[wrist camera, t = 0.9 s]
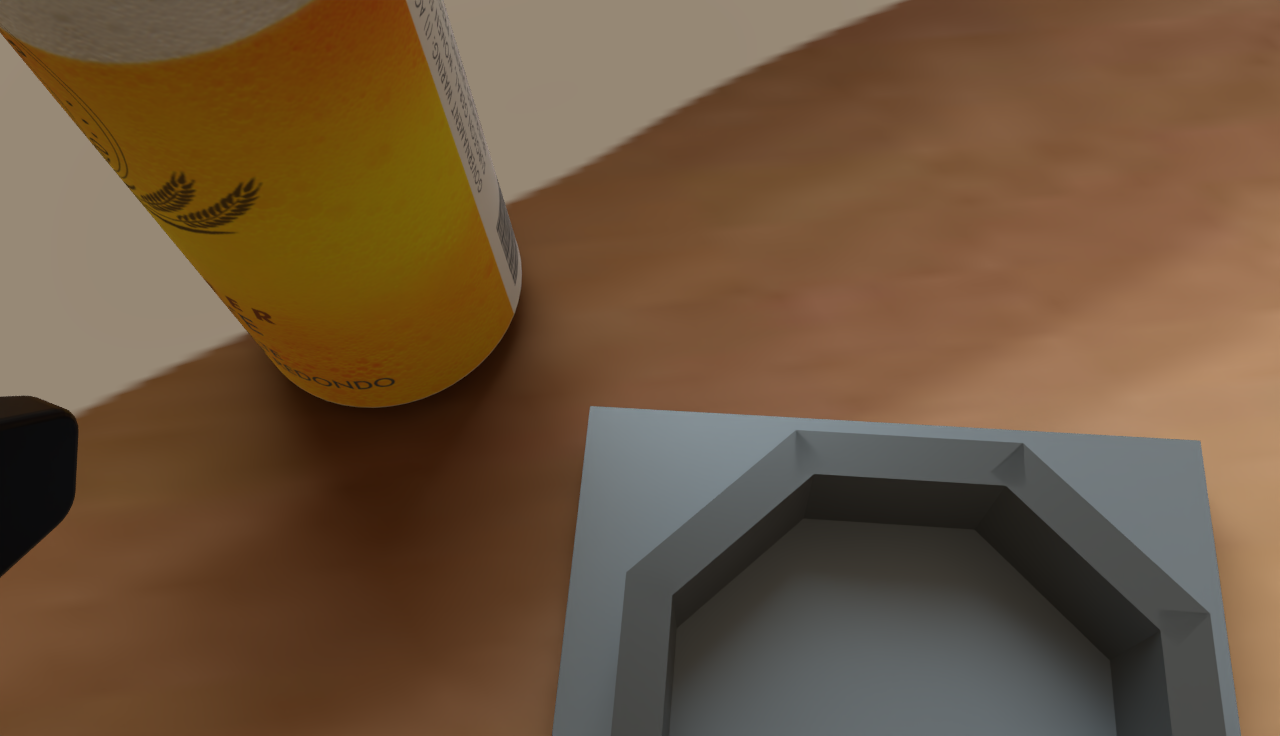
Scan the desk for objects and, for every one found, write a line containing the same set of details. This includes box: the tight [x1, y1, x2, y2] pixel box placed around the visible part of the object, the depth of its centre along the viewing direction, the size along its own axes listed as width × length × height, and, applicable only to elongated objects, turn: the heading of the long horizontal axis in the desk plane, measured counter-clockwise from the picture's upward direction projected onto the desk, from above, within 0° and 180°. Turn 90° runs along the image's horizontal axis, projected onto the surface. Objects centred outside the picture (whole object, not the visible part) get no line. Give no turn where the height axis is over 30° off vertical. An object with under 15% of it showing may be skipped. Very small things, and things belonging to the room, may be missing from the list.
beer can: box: [0, 0, 522, 408], centre depth 19 cm, size 6×6×15 cm
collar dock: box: [552, 406, 1241, 736], centre depth 19 cm, size 12×12×4 cm
